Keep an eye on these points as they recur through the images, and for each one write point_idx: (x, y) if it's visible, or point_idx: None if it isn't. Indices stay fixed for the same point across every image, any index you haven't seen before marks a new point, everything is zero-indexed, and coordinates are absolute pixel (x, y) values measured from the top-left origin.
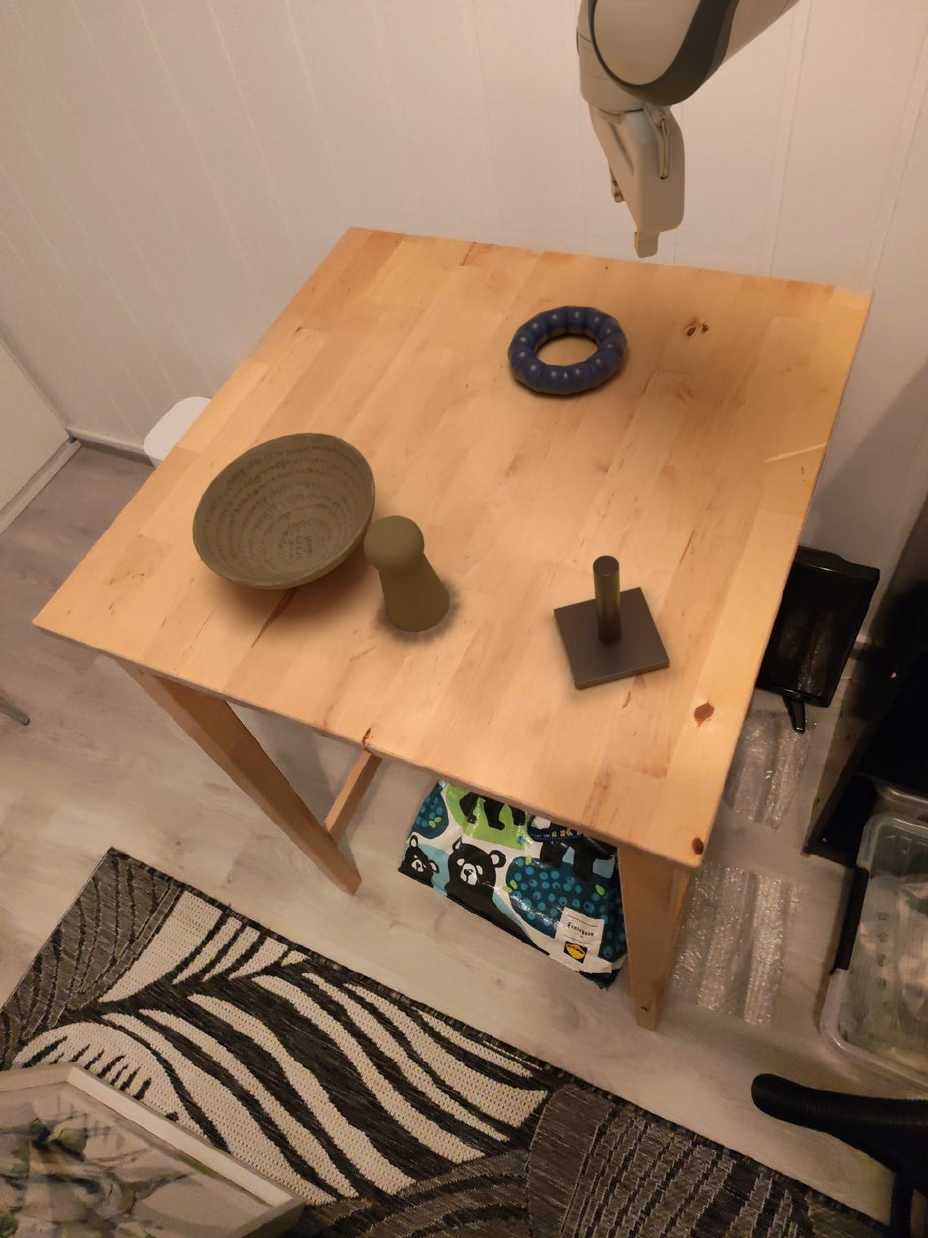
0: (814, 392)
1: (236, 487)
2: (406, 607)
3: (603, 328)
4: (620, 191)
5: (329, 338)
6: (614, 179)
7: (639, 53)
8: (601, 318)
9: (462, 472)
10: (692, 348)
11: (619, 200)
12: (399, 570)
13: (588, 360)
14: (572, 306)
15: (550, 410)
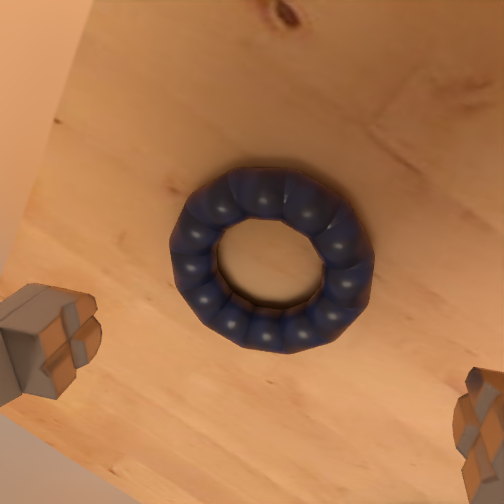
0: None
1: None
2: None
3: (259, 213)
4: (71, 355)
5: (133, 457)
6: (15, 388)
7: None
8: (232, 209)
9: (434, 437)
10: (340, 29)
11: (96, 334)
12: None
13: (338, 268)
14: (181, 241)
15: (376, 315)
